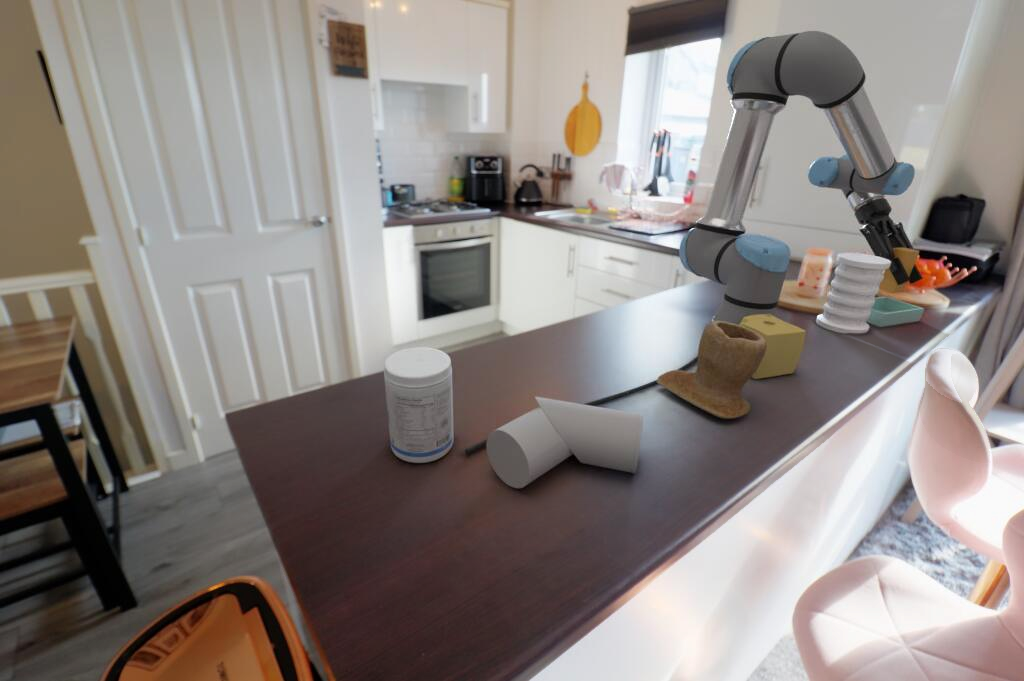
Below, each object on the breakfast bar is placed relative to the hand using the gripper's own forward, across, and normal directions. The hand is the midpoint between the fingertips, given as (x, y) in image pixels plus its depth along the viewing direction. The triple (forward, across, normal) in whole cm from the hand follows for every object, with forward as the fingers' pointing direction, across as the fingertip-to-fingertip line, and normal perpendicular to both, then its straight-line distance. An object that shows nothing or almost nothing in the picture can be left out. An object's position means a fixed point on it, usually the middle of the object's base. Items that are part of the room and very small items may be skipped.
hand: (910, 281), depth 122 cm
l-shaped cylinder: (+27, +108, +10) cm, 112 cm away
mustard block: (0, 0, -5) cm, 5 cm away
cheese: (+15, +56, -2) cm, 58 cm away
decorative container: (+6, +16, -10) cm, 20 cm away
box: (+6, 0, -11) cm, 12 cm away
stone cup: (+21, +76, +3) cm, 79 cm away
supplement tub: (+20, +128, +2) cm, 129 cm away
